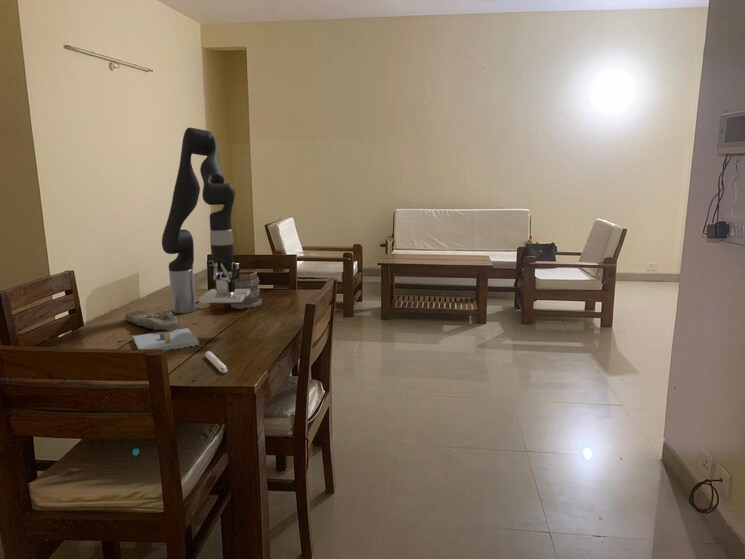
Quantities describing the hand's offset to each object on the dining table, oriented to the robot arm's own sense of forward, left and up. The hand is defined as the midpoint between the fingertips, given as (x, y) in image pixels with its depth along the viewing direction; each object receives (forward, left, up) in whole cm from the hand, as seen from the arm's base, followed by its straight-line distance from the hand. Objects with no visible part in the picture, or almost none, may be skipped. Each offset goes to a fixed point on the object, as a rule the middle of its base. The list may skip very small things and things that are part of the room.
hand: (225, 291), depth 191 cm
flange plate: (0, 0, -2) cm, 2 cm away
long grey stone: (-24, -22, -15) cm, 36 cm away
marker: (+31, -11, -16) cm, 37 cm away
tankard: (-41, +16, -15) cm, 47 cm away
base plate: (0, -21, -15) cm, 26 cm away
